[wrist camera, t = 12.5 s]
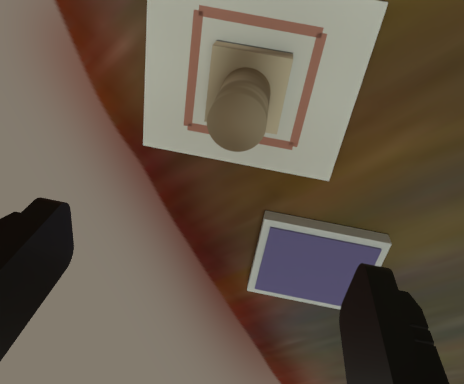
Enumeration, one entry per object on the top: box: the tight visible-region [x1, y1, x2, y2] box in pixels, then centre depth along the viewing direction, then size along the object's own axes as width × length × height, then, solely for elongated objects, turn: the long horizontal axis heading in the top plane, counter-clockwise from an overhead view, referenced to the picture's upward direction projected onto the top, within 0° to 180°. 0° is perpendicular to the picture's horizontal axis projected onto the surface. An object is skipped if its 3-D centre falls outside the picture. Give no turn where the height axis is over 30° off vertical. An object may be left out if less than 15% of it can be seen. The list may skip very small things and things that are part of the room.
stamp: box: [204, 40, 293, 152], centre depth 22 cm, size 5×5×7 cm
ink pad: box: [247, 210, 392, 309], centre depth 33 cm, size 10×8×1 cm
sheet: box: [143, 0, 388, 181], centre depth 26 cm, size 14×12×1 cm
